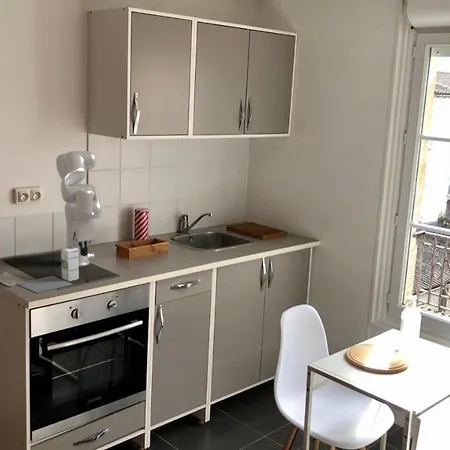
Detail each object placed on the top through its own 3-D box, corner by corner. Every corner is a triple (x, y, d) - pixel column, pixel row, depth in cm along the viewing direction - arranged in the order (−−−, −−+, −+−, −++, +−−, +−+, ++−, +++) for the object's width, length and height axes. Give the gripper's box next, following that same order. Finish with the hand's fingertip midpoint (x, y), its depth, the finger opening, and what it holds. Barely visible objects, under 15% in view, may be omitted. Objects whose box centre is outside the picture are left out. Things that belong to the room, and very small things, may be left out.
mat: (52, 276, 284) (52, 275, 284) (72, 285, 274) (72, 284, 274) (16, 284, 271) (16, 283, 271) (36, 293, 261) (36, 292, 261)
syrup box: (79, 279, 282) (79, 248, 279) (68, 281, 278) (68, 250, 275) (71, 276, 286) (71, 245, 283) (60, 278, 282) (60, 247, 279)
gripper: (92, 213, 290) (92, 251, 293) (65, 216, 278) (65, 256, 282) (102, 215, 285) (102, 254, 288) (75, 219, 274) (75, 259, 277)
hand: (83, 255), depth 285 cm, fingers closed
